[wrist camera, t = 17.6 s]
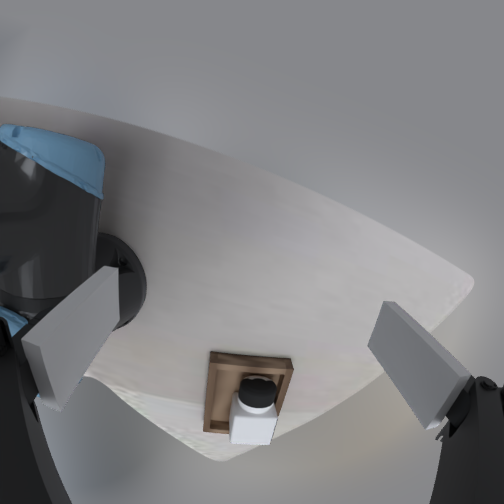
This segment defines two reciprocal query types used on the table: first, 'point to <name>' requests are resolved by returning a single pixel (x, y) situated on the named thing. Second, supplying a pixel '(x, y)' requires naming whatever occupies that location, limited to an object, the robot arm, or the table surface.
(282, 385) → the walnut tray
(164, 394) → the table surface
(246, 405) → the medicine bottle
